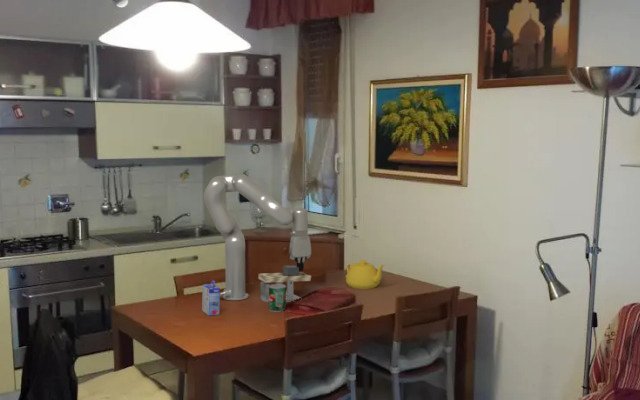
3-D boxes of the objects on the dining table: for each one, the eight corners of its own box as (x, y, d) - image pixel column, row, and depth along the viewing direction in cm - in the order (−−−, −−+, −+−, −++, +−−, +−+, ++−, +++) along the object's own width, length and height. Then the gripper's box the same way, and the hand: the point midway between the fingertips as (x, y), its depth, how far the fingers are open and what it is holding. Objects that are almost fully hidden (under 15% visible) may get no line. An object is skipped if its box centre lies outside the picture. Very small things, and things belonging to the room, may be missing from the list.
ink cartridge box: (220, 314, 290) (220, 282, 288) (208, 316, 287) (208, 284, 286) (213, 309, 298) (213, 278, 297) (201, 310, 296) (201, 279, 294)
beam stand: (270, 304, 307) (270, 283, 306) (256, 296, 321) (256, 276, 320) (301, 300, 315) (301, 280, 314) (286, 292, 329) (286, 273, 328)
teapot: (393, 286, 343) (394, 261, 342) (374, 293, 330) (374, 266, 328) (355, 279, 359) (355, 255, 358) (335, 285, 346) (335, 260, 344)
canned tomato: (289, 309, 299) (289, 285, 298) (277, 312, 293) (277, 289, 292) (277, 306, 304) (277, 283, 303) (265, 309, 299) (265, 286, 298)
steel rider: (287, 277, 316) (288, 267, 316) (282, 275, 320) (283, 265, 320) (298, 277, 319) (299, 267, 319) (293, 275, 323) (294, 265, 323)
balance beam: (266, 282, 309) (266, 277, 309) (258, 278, 317) (258, 273, 316) (310, 280, 320) (311, 275, 320) (302, 277, 328) (302, 271, 328)
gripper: (289, 236, 313) (290, 273, 315) (317, 233, 320) (317, 270, 322) (282, 233, 320) (283, 270, 322) (309, 231, 327) (309, 267, 329)
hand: (300, 270), depth 322 cm, fingers closed
